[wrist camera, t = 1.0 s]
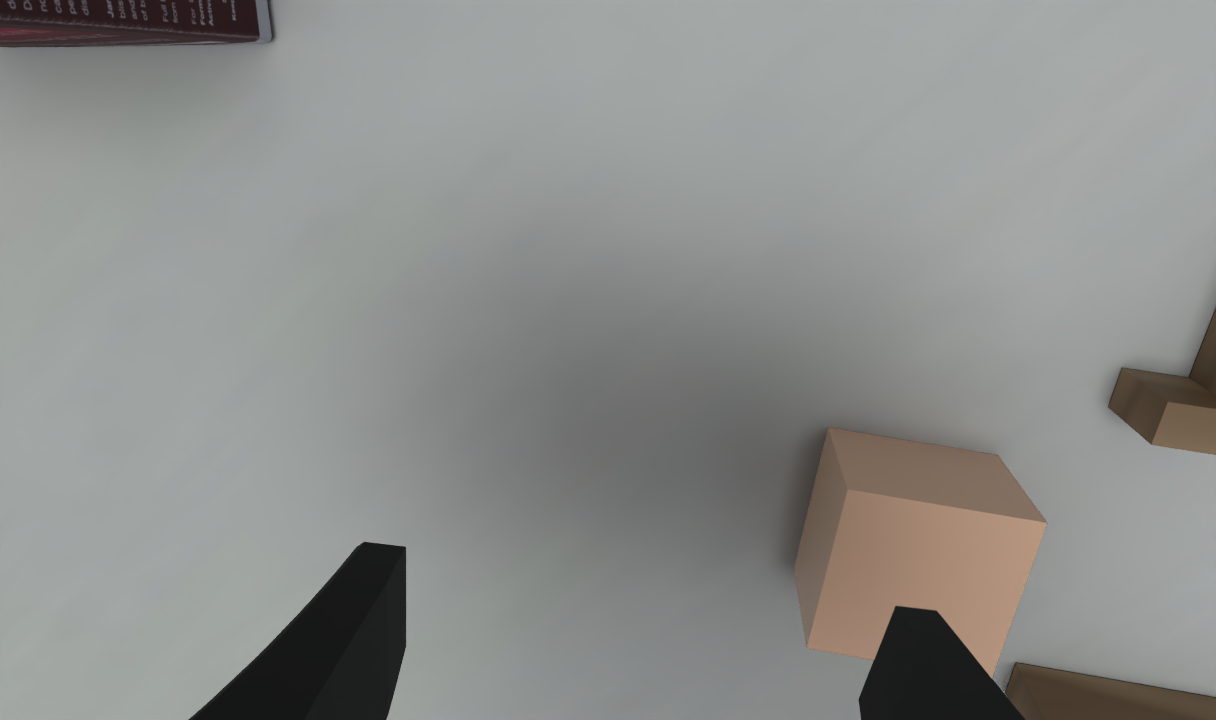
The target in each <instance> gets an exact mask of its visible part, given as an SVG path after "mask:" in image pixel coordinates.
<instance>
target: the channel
mask: <svg viewBox="0 0 1216 720" xmlns="http://www.w3.org/2000/svg"><path fill="white" fill-rule="evenodd" d="M1108 407H1109V408H1110V409H1111V410H1112V411H1113V412H1114V413H1116V414H1117V415H1118V416H1119V417H1120V418H1121V419H1122V420H1124V421H1125V422H1126V423H1127V424H1128V425H1129V426H1131V427H1132V428H1133V429H1134V430H1135V431H1136V432H1137V433H1139V434H1140V435H1141V436H1142V437H1143V438H1144V439H1145V440H1147V441H1148V442H1149V443H1150V444H1151V445H1156V446H1163V447H1169V448H1176V449H1182V450H1188V451H1195V452H1201V453H1208V454H1214V455H1216V310H1215V313H1214V315H1213V318H1212V321H1211V323H1210V326H1209V328H1208V331H1207V333H1206V336H1205V338H1204V341H1203V344H1202V346H1201V349H1200V351H1199V354H1198V356H1197V359H1196V361H1195V364H1194V367H1193V369H1192V372H1191V374H1190V377H1189V378H1187V377H1180V376H1173V375H1167V374H1160V373H1154V372H1147V371H1140V370H1134V369H1127V368H1122V370H1121V373H1120V376H1119V378H1118V381H1117V384H1116V387H1115V390H1114V392H1113V395H1112V398H1111V401H1110V403H1109V406H1108ZM1005 693H1006V695H1007V697H1008V699H1009V700H1010V701H1011V703H1012V704H1013V705H1014V706H1015V708H1016V709H1017V710H1018V711H1019V712H1020V714H1021V715H1022V716H1023V717H1024V718H1025V719H1026V720H1216V698H1214V697H1208V696H1202V695H1197V694H1191V693H1185V692H1180V691H1174V690H1168V689H1163V688H1157V687H1151V686H1145V685H1140V684H1134V683H1128V682H1123V681H1117V680H1111V679H1106V678H1100V677H1094V676H1088V675H1083V674H1077V673H1071V672H1066V671H1060V670H1054V669H1049V668H1043V667H1037V666H1031V665H1026V664H1020V663H1016V664H1015V667H1014V670H1013V673H1012V676H1011V678H1010V681H1009V684H1008V687H1007V689H1006V692H1005Z"/></svg>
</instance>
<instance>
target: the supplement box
mask: <svg viewBox="0 0 1216 720" xmlns="http://www.w3.org/2000/svg"><path fill="white" fill-rule="evenodd" d="M271 38H272V35H271V26H270V19H269V11H268V3H267V0H0V47H92V46H158V45H214V44H256V43H267V42H269V41H270V40H271Z"/></svg>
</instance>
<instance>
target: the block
mask: <svg viewBox="0 0 1216 720" xmlns="http://www.w3.org/2000/svg"><path fill="white" fill-rule="evenodd" d="M1046 526H1047V522H1046V520H1045V519H1044V518H1043V516H1042V515H1041V513H1040V512H1039V511H1038V509H1037V508H1036V507H1035V505H1034V504H1033V502H1032V501H1031V500H1030V498H1029V497H1028V496H1027V494H1026V493H1025V491H1024V490H1023V489H1022V487H1021V486H1020V485H1019V483H1018V482H1017V480H1016V479H1015V478H1014V476H1013V475H1012V474H1011V472H1010V471H1009V469H1008V468H1007V467H1006V465H1005V464H1004V462H1003V461H1002V460H1001V458H1000V457H999V456H998V455H993V454H987V453H981V452H975V451H969V450H963V449H957V448H951V447H945V446H939V445H932V444H926V443H920V442H914V441H908V440H902V439H896V438H890V437H884V436H878V435H871V434H865V433H859V432H853V431H847V430H841V429H835V428H829V427H828V429H827V434H826V438H825V442H824V446H823V450H822V454H821V458H820V463H819V467H818V471H817V475H816V479H815V483H814V487H813V492H812V496H811V500H810V504H809V508H808V512H807V516H806V521H805V525H804V529H803V533H802V537H801V541H800V545H799V549H798V554H797V558H796V562H795V566H794V573H795V579H796V585H797V591H798V598H799V604H800V610H801V616H802V622H803V628H804V635H805V641H806V647H807V648H809V649H814V650H820V651H825V652H831V653H836V654H842V655H847V656H853V657H858V658H864V659H869V660H874V659H875V657H876V654H877V652H878V649H879V647H880V644H881V641H882V639H883V636H884V634H885V631H886V629H887V626H888V624H889V621H890V619H891V616H892V614H893V611H894V608H895V606H903V607H912V608H920V609H928V610H937V611H938V613H939V614H940V615H941V616H942V617H943V619H944V620H945V621H946V622H947V623H948V625H949V626H950V627H951V628H952V630H953V631H954V632H955V633H956V635H957V636H958V637H959V638H960V640H961V641H962V642H963V643H964V645H965V646H966V647H967V648H968V650H969V651H970V652H971V653H972V655H973V656H974V657H975V658H976V660H977V661H978V662H979V663H980V665H981V666H982V667H983V668H984V670H985V671H986V672H987V673H988V674H989V676H990V677H991V678H992V676H993V674H994V671H995V668H996V665H997V662H998V660H999V657H1000V654H1001V651H1002V648H1003V646H1004V643H1005V640H1006V637H1007V635H1008V632H1009V629H1010V626H1011V623H1012V621H1013V618H1014V615H1015V612H1016V609H1017V607H1018V604H1019V601H1020V598H1021V595H1022V593H1023V590H1024V587H1025V584H1026V581H1027V579H1028V576H1029V573H1030V570H1031V567H1032V565H1033V562H1034V559H1035V556H1036V554H1037V551H1038V548H1039V545H1040V542H1041V540H1042V537H1043V534H1044V531H1045V528H1046Z"/></svg>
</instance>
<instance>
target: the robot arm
mask: <svg viewBox="0 0 1216 720" xmlns="http://www.w3.org/2000/svg"><path fill="white" fill-rule="evenodd" d="M405 648H406V547H403V546H395V545H386V544H378V543H370V542H363V543H362V544H360V545H359V546H357V547H356V548H355V550H354V551H353V552H352V553H351V555H350V556H349V557H348V558H347V559H346V561H345V562H344V563H343V564H342V565H341V567H340V568H339V569H338V570H337V571H336V573H335V574H334V575H333V576H332V577H331V578H330V579H329V581H328V582H327V583H326V584H325V585H324V586H323V587H322V589H321V590H320V591H319V592H318V593H317V594H316V595H315V596H314V597H313V599H312V600H311V601H310V602H309V603H308V604H307V605H306V606H305V607H304V609H303V610H302V611H301V612H300V613H299V614H298V615H297V616H296V617H295V618H294V619H293V620H292V621H291V622H290V623H289V624H288V625H287V626H286V627H285V628H284V630H283V631H282V632H281V633H280V634H279V635H278V636H277V637H276V638H275V639H274V640H273V641H272V642H271V643H270V644H269V645H268V646H267V647H266V648H265V649H264V650H263V651H262V652H261V653H260V654H259V655H258V656H257V657H256V658H255V659H254V660H253V661H252V662H251V663H250V664H249V665H248V666H247V667H246V668H245V669H243V670H242V671H241V672H240V673H239V674H238V675H237V676H236V677H235V678H234V679H233V680H232V681H231V682H230V683H229V684H228V685H226V686H225V687H224V688H223V689H222V690H221V691H220V692H219V693H218V694H217V695H216V696H215V697H214V698H213V699H212V700H210V701H209V702H208V703H207V704H206V705H205V706H204V707H203V708H201V709H200V710H199V711H198V712H197V713H196V714H195V715H193V716H192V717H191V718H190V719H189V720H386V719H387V716H388V713H389V709H390V706H391V702H392V698H393V695H394V691H395V687H396V683H397V679H398V675H399V672H400V668H401V664H402V660H403V656H404V652H405ZM859 705H860V713H861V720H1026V719H1025V718H1024V717H1023V716H1022V715H1021V714H1020V712H1019V711H1018V710H1017V709H1016V708H1015V706H1014V705H1013V704H1012V703H1011V701H1010V700H1009V699H1008V698H1007V697H1006V695H1005V694H1004V693H1003V692H1002V691H1001V689H1000V688H999V687H998V686H997V684H996V683H995V682H994V681H993V679H992V678H991V677H990V676H989V674H988V673H987V672H986V671H985V670H984V668H983V667H982V666H981V665H980V663H979V662H978V661H977V660H976V658H975V657H974V656H973V655H972V653H971V652H970V651H969V650H968V648H967V647H966V646H965V645H964V643H963V642H962V641H961V640H960V638H959V637H958V636H957V635H956V633H955V632H954V631H953V630H952V628H951V627H950V626H949V625H948V623H947V622H946V621H945V620H944V619H943V617H942V616H941V615H940V614H939V613H938V611H937V610H928V609H920V608H912V607H903V606H895V608H894V611H893V614H892V616H891V619H890V621H889V624H888V626H887V629H886V631H885V634H884V636H883V639H882V641H881V644H880V647H879V649H878V652H877V654H876V657H875V659H874V662H873V664H872V667H871V669H870V672H869V674H868V677H867V680H866V682H865V685H864V687H863V690H862V692H861V695H860V697H859Z"/></svg>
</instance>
